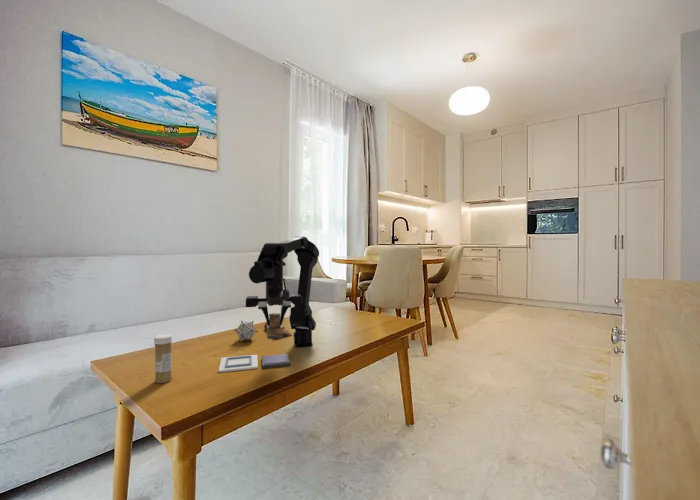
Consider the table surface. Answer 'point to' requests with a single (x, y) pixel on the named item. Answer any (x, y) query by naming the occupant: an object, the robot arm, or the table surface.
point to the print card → (238, 363)
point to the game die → (246, 330)
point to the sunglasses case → (285, 332)
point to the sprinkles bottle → (163, 358)
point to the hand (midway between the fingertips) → (274, 325)
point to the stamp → (274, 326)
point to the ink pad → (275, 361)
